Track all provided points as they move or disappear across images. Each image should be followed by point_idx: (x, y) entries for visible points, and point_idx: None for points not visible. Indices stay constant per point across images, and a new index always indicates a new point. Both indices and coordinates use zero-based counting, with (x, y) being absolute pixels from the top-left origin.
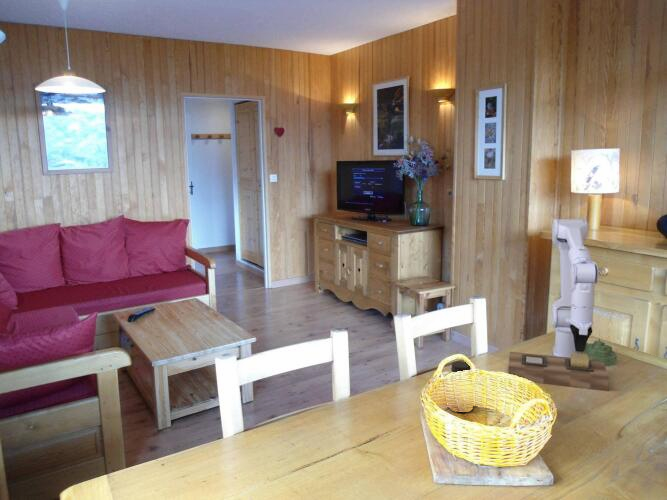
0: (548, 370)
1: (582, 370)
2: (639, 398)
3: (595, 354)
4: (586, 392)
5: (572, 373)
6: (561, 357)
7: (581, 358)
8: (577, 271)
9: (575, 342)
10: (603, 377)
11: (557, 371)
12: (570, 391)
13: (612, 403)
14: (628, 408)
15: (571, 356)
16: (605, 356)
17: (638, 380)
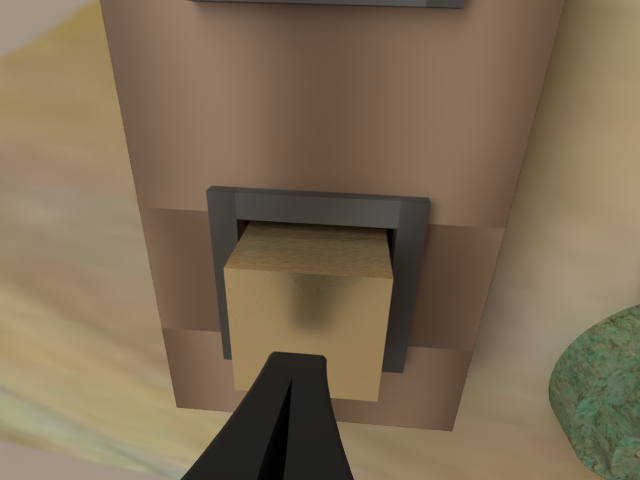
0: (114, 13)
1: (220, 295)
2: (181, 432)
3: (637, 404)
4: (145, 251)
5: (143, 221)
6: (498, 174)
7: (249, 347)
8: None
9: (217, 445)
10: (175, 382)
11: (131, 104)
12: (116, 167)
13: (74, 337)
14: (59, 380)
15: (278, 276)
16: (595, 443)
17: (376, 469)
